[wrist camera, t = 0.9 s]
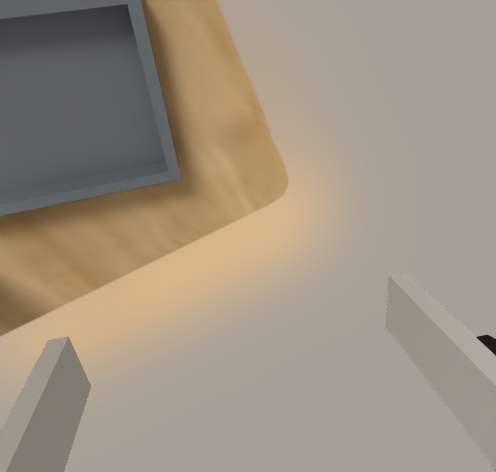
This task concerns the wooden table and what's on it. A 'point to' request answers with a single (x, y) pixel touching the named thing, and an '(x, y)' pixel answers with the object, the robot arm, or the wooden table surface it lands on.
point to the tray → (78, 103)
